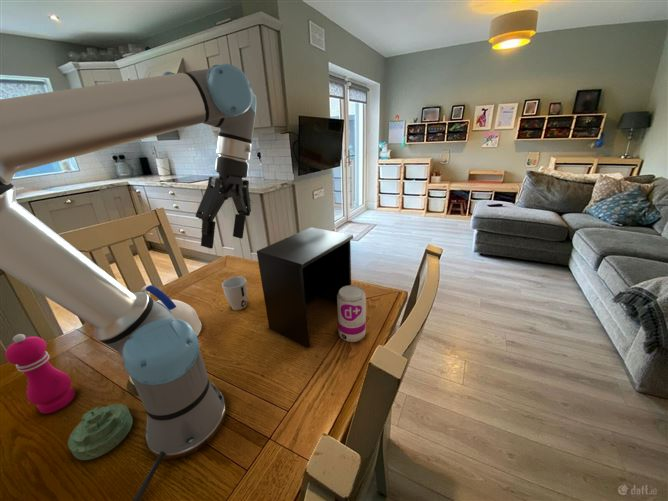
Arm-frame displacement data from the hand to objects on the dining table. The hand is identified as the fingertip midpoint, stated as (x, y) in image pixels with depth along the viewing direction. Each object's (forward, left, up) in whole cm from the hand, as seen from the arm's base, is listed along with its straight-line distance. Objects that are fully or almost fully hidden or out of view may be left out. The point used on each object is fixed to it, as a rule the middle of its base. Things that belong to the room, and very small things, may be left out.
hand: (223, 241), depth 72 cm
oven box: (+13, -19, -31) cm, 39 cm away
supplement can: (+7, -33, -32) cm, 46 cm away
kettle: (-4, +24, -32) cm, 40 cm away
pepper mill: (-29, +32, -32) cm, 54 cm away
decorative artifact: (-33, +13, -32) cm, 48 cm away
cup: (+15, +10, -32) cm, 36 cm away
